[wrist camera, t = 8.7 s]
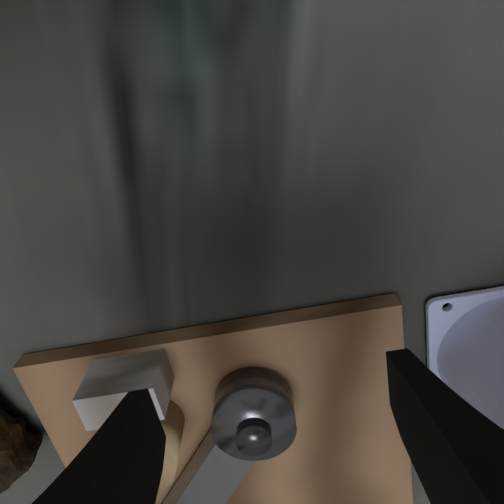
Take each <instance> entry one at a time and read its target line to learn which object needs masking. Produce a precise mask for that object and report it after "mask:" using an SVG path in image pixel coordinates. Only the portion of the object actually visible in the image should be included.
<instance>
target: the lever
mask: <svg viewBox="0 0 504 504" xmlns="http://www.w3.org/2000/svg"><path fill="white" fill-rule="evenodd" d="M296 433H297V426H296V418H295V409H294V401H293V394H292V390H291V388H290V386H289V384H288V383H287V382H286V381H285V380H284V379H283V378H282V377H281V376H279V375H278V374H276V373H274V372H271V371H269V370H265V369H258V368H250V369H243V370H239V371H236V372H234V373H232V374H230V375H228V376H227V377H226V378H224V379H223V380H222V381H221V382H220V384H219V385H218V387H217V389H216V392H215V397H214V406H213V415H212V424H211V430H210V431H209V433H208V434H207V436H206V437H205V439H204V441H203V442H202V444H201V445H200V447H199V448H198V450H197V451H196V453H195V454H194V456H193V457H192V459H191V461H190V462H189V464H188V465H187V467H186V468H185V470H184V471H183V473H182V474H181V476H180V478H179V479H178V481H177V482H176V484H175V485H174V487H173V488H172V490H171V491H170V493H169V494H168V496H167V498H166V499H165V501H164V502H163V504H225V503H226V501H227V500H228V499H229V497H230V496H231V495H232V493H233V492H234V491H235V489H236V488H237V487H238V485H239V484H240V483H241V481H242V480H243V479H244V477H245V476H246V474H247V473H248V472H249V470H250V469H251V468H252V466H253V465H254V464H255V462H256V461H262V460H267V459H271V458H273V457H276V456H278V455H280V454H282V453H283V452H285V451H286V450H287V449H288V448H289V447H290V446H291V445H292V443H293V442H294V439H295V437H296Z"/></svg>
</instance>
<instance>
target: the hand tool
mask: <svg viewBox="0 0 504 504" xmlns="http://www.w3.org/2000/svg"><path fill="white" fill-rule="evenodd" d="M41 442H42V434H39V433H31V432H29V431H27V430H26V423H25V419H24V418H13V417H12V416H10V415H9V414H8V413H7V412H6V411H5V410H4V409H3V408H2V407H1V406H0V493H2V492H4V491H5V490H7V489H8V488H9V487H10V486H11V485H12V483H13V482H15V481H16V480H17V479H18V478H20V477H21V476H22V475H23V474H24V473H25V472H27V471H28V469H29V468H30V467H31V465H32V464H33V462H34V460H35V458H36V454H37V451H38V449H39V447H40V444H41Z"/></svg>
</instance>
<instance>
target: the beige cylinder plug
mask: <svg viewBox="0 0 504 504" xmlns="http://www.w3.org/2000/svg"><path fill="white" fill-rule="evenodd" d="M160 422H161V424H162V427H163V429H164V432H165V435H166V445H165V456H164V464H163V471H162V476H161V481H160V485H159V489H158V492H159V491H161V490H163V489H165V488H166V487H168V486H169V485H170V484H171V483H172V481H173V480H174V477H175V473H176V467H177V462H178V456H179V451H180V445H181V440H182V435H183V429H184V424H185V417H184V413H183V411H182V410H181V408H180V407H179V406H178V405H177V404H176V403H175V402H173V401H172V400H169V404H168V408H167V412H166V417H165V420H160Z"/></svg>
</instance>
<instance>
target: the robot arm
mask: <svg viewBox="0 0 504 504" xmlns="http://www.w3.org/2000/svg"><path fill="white" fill-rule="evenodd" d="M446 303H449V305H448V306H447V307H443V305H444V304H446ZM425 308H426V341H427V366H426V365H424V364H423V363H422V362H421V361H420V360H419V359H418V358H417V357H416V356H415V355H414V354H413V353H412V352H411V351H410V350H409V349H407V348H406V349H399V350H393V351H386V362H387V375H388V387H389V400H390V406H391V409H392V413H393V416H394V419H395V422H396V425H397V428H398V431H399V434H400V437H401V439H402V441H403V444H404V446H405V448H406V450H407V453H408V455H409V457H410V459H411V461H412V464H413V466H414V468H415V470H416V472H417V474H418V477H419V479H420V481H421V483H422V485H423V487H424V490H425V492H426V494H427V496H428V498H429V501H430V503H431V504H504V286H501V287H495V288H489V289H483V290H477V291H471V292H464V293H458V294H452V295H446V296H440V297H434V298H431V299H430V300H428V302H427V303H426V307H425ZM165 445H166V435H165V432H164V429H163V427H162V424H161V422H160V419H159V416H158V414H157V411H156V408H155V406H154V403H153V400H152V398H151V395H150V393H149V390H148V388H147V389H141V390H134V391H129V392H128V393H127V394H126V395H125V397H124V398H123V399H122V400H121V401H120V403H119V404H118V405H117V407H116V408H115V409H114V410H113V412H112V413H111V414H110V416H109V417H108V418H107V419H106V421H105V422H104V423H103V424H102V426H101V427H100V428H99V429H98V431H97V432H96V433H95V434H94V436H93V437H92V438H91V439H90V440H89V442H88V443H87V444H86V445H85V447H84V448H83V449H82V450H81V451H80V452H79V454H78V455H77V456H76V457H75V458H74V459H73V460H72V461H71V463H70V464H69V465H68V466H67V467H66V468H65V469H64V471H63V472H62V473H61V474H60V475H59V476H58V477H57V478H56V480H55V481H54V482H53V483H52V484H51V485H50V486H49V487H48V488H47V489H46V490H45V491H44V492H43V493H42V494H41V495H40V496H39V497H38V498H37V499H36V500H35V501H34V502H33V503H32V504H155V502H156V498H157V494H158V489H159V485H160V481H161V476H162V471H163V464H164V456H165Z"/></svg>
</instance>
